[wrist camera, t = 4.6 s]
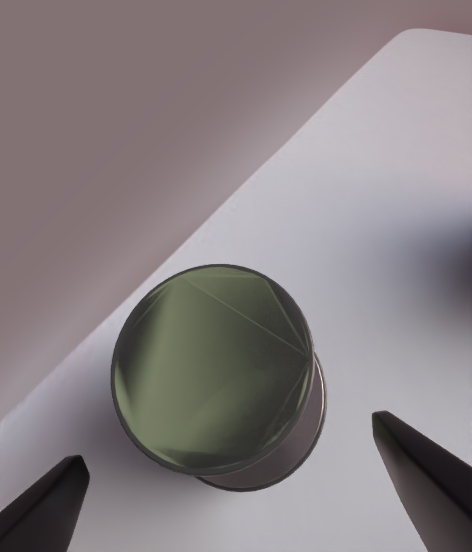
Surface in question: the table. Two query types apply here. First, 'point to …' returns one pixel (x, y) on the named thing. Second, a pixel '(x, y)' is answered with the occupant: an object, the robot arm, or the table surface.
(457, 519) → the robot arm
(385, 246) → the table surface
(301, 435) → the round container
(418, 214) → the table surface
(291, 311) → the green lidded jar
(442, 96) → the table surface
